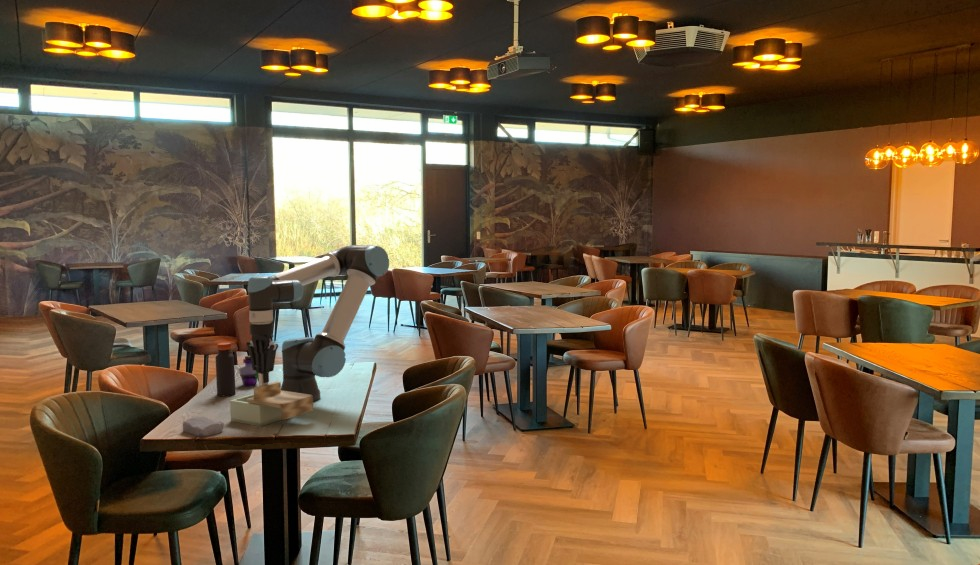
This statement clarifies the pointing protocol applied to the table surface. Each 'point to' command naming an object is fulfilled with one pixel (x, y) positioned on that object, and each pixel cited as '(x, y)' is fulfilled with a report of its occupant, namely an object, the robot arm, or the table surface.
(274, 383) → the lid
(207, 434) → the stone block
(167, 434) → the table surface
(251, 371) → the potion bottle
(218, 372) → the vinegar
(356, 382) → the table surface
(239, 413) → the cream box
